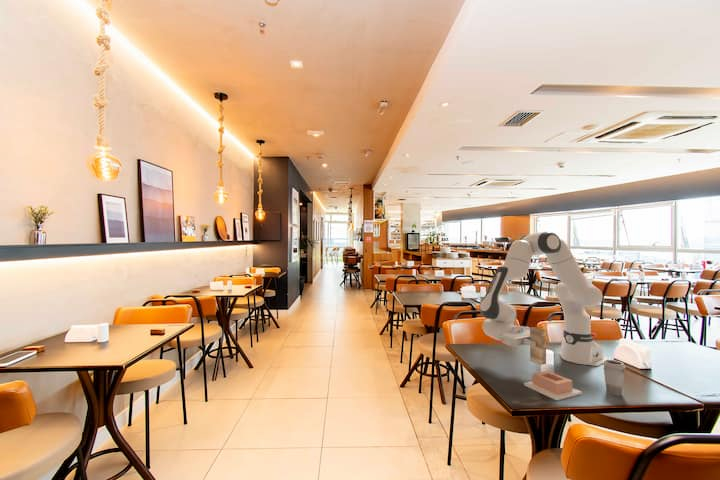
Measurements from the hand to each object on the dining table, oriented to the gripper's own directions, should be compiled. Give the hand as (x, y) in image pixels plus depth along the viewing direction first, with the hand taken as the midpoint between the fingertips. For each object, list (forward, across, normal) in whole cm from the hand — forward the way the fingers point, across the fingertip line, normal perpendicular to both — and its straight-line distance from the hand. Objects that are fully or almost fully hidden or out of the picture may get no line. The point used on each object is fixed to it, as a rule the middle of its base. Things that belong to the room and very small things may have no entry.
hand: (539, 343), depth 133 cm
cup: (+16, +20, +17) cm, 31 cm away
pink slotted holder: (+5, 0, +17) cm, 18 cm away
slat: (-1, 0, +8) cm, 8 cm away
